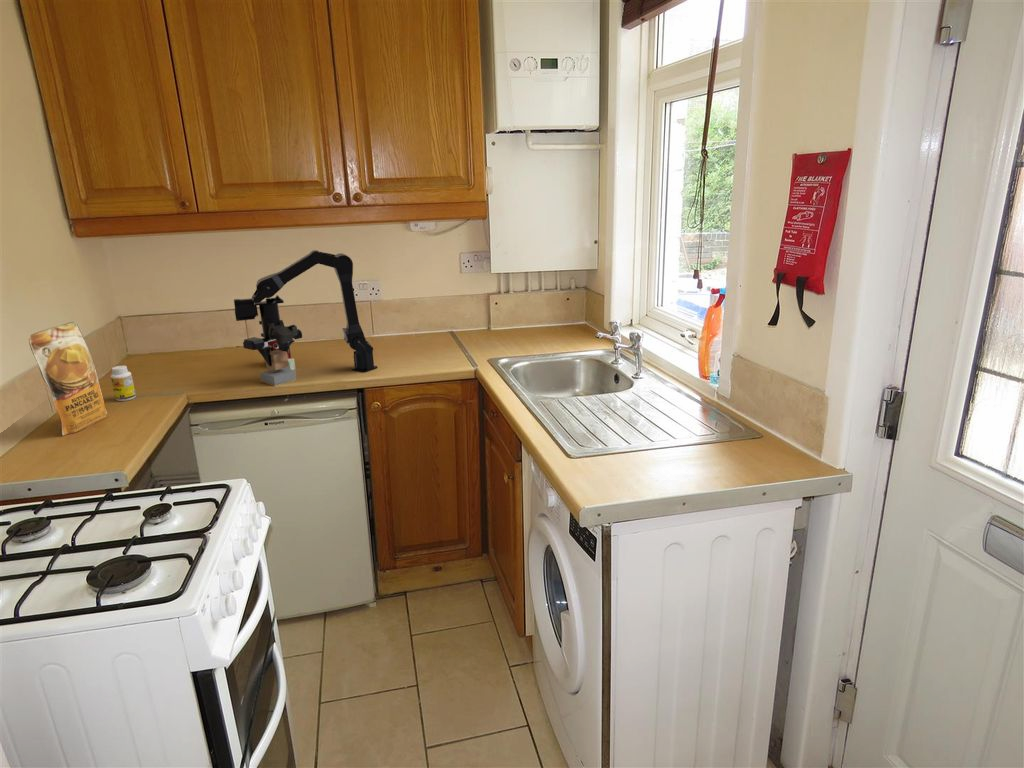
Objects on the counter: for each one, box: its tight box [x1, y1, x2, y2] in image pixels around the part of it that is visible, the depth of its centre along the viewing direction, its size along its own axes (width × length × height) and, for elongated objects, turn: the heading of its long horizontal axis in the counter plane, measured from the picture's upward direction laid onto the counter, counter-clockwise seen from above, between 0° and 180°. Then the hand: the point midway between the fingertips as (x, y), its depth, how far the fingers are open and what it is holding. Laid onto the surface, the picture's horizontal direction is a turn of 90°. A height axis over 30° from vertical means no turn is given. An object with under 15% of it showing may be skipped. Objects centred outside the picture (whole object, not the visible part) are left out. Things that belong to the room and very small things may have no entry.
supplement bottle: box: [110, 365, 137, 402], centre depth 201 cm, size 6×6×10 cm
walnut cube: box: [265, 350, 289, 370], centre depth 214 cm, size 5×5×5 cm
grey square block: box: [260, 368, 297, 387], centre depth 216 cm, size 8×8×4 cm
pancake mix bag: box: [28, 321, 108, 436], centre depth 177 cm, size 7×19×28 cm, turn 171°
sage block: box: [285, 358, 296, 371], centre depth 226 cm, size 4×4×4 cm
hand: (277, 364), depth 215 cm, fingers closed on walnut cube, 5 cm apart
